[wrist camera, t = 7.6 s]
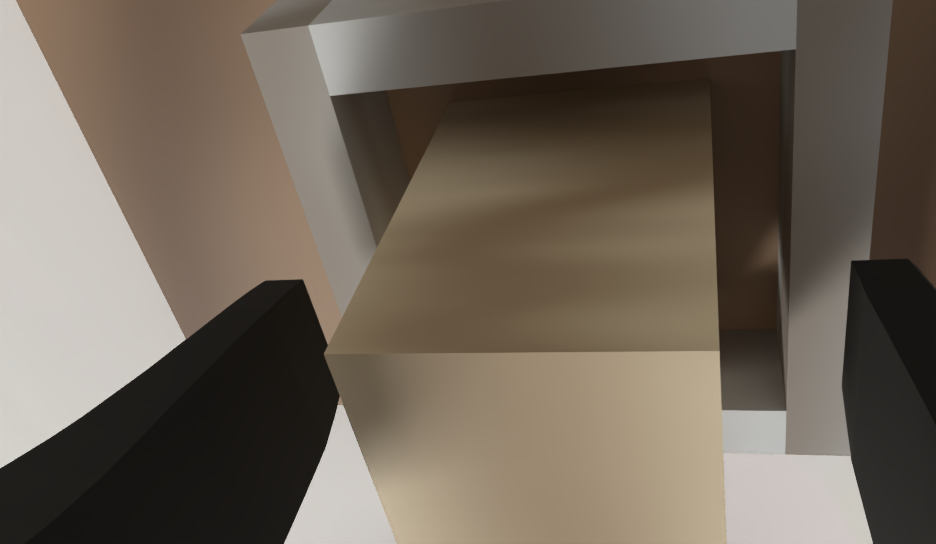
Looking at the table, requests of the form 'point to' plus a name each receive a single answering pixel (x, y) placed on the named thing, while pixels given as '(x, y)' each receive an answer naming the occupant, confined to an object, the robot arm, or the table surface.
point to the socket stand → (507, 75)
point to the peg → (547, 327)
